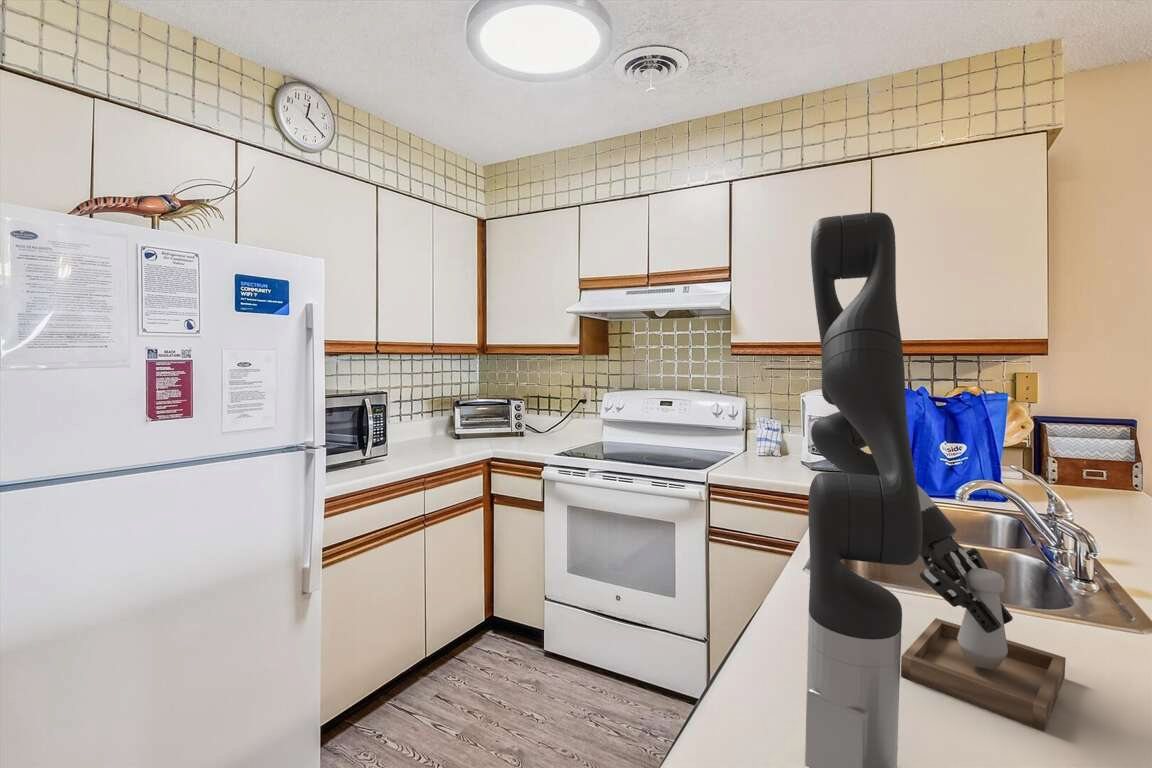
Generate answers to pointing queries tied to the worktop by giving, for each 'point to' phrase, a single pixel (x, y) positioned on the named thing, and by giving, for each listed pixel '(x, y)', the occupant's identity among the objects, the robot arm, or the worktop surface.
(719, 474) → the worktop surface
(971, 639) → the salt shaker
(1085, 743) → the worktop surface
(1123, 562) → the worktop surface
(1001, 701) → the walnut tray
